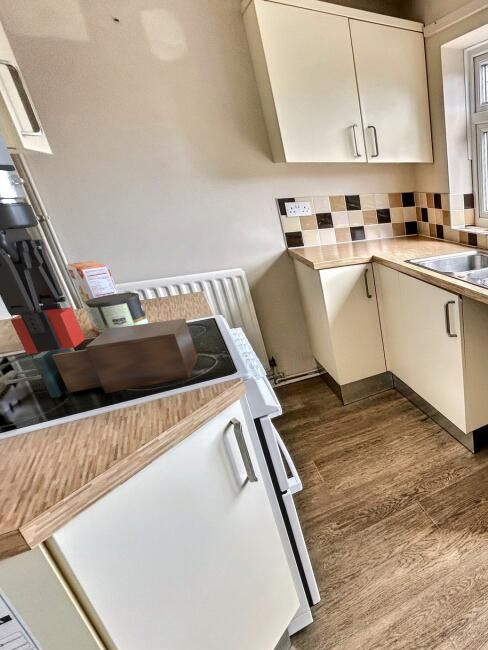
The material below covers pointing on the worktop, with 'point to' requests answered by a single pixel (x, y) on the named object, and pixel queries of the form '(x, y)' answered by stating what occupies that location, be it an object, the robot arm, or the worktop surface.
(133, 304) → the coffee can
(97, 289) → the cracker box
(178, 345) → the cabinet
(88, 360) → the drawer
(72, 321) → the box
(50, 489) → the worktop surface
